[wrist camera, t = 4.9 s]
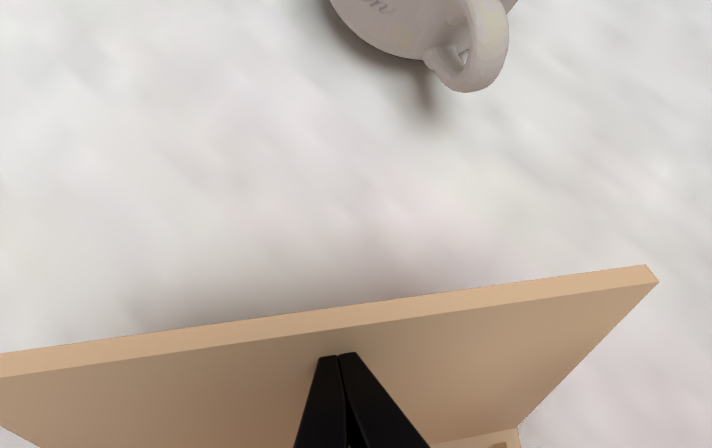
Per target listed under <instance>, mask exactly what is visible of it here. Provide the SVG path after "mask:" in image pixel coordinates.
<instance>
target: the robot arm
mask: <svg viewBox="0 0 712 448" xmlns="http://www.w3.org/2000/svg"><path fill="white" fill-rule="evenodd" d="M293 448H431V447H430V446H429V445H428V443H427V442H426V441H425V440H424V438H423V437H422V436H421V434H420V433H419V432H418V431H417V429H416V428H415V427H414V425H413V424H412V423H411V422H410V420H409V419H408V418H407V417H406V415H405V414H404V413H403V411H402V410H401V409H400V408H399V406H398V405H397V404H396V402H395V401H394V400H393V399H392V397H391V396H390V395H389V394H388V392H387V391H386V390H385V388H384V387H383V386H382V385H381V383H380V382H379V381H378V379H377V378H376V377H375V376H374V374H373V373H372V372H371V371H370V369H369V368H368V367H367V365H366V364H365V363H364V362H363V360H362V359H361V358H360V356H359V355H358V354H357V353H356V352H349V353H343V354H339V355H338V356H337V355H330V356H324V357H320V358H319V359H318V362H317V365H316V369H315V372H314V376H313V379H312V383H311V386H310V390H309V393H308V397H307V400H306V404H305V407H304V411H303V414H302V418H301V421H300V425H299V428H298V432H297V435H296V439H295V442H294V446H293Z"/></svg>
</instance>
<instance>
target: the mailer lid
mask: <svg viewBox="0 0 712 448" xmlns="http://www.w3.org/2000/svg"><path fill="white" fill-rule="evenodd" d="M658 283H659V280H658V279H657V278H656V277H655V275H654V274H653V273H652V272H651V270H650V269H649V268H648V267H647V265H646V264H644V265H637V266H630V267H622V268H615V269H608V270H601V271H594V272H586V273H579V274H572V275H565V276H557V277H550V278H543V279H536V280H529V281H521V282H514V283H507V284H500V285H492V286H485V287H478V288H471V289H463V290H456V291H449V292H442V293H435V294H427V295H420V296H413V297H406V298H398V299H391V300H384V301H377V302H370V303H362V304H355V305H348V306H341V307H333V308H326V309H319V310H312V311H305V312H297V313H290V314H283V315H276V316H268V317H261V318H254V319H247V320H239V321H232V322H225V323H218V324H211V325H203V326H196V327H189V328H182V329H174V330H167V331H160V332H153V333H146V334H138V335H131V336H124V337H117V338H109V339H102V340H95V341H88V342H81V343H73V344H66V345H59V346H52V347H44V348H37V349H30V350H23V351H16V352H8V353H1V354H0V426H2V427H3V428H5V429H7V430H9V431H11V432H13V433H15V434H16V435H18V436H20V437H22V438H24V439H26V440H27V441H29V442H31V443H33V444H35V445H37V446H38V447H40V448H293V446H294V442H295V439H296V435H297V432H298V428H299V425H300V421H301V418H302V414H303V411H304V407H305V404H306V400H307V397H308V393H309V390H310V386H311V383H312V379H313V376H314V372H315V369H316V365H317V362H318V359H319V358H320V357H324V356H330V355H337V356H338V355H339V354H343V353H349V352H356V353H357V354H358V355H359V356H360V358H361V359H362V360H363V362H364V363H365V364H366V365H367V367H368V368H369V369H370V371H371V372H372V373H373V374H374V376H375V377H376V378H377V379H378V381H379V382H380V383H381V385H382V386H383V387H384V388H385V390H386V391H387V392H388V394H389V395H390V396H391V397H392V399H393V400H394V401H395V402H396V404H397V405H398V406H399V408H400V409H401V410H402V411H403V413H404V414H405V415H406V417H407V418H408V419H409V420H410V422H411V423H412V424H413V425H414V427H415V428H416V429H417V431H418V432H419V433H420V434H421V436H422V437H423V438H424V440H425V441H426V442H427V443H428V445H431V444H437V443H442V442H447V441H452V440H457V439H463V438H468V437H473V436H478V435H483V434H489V433H494V432H499V431H504V430H509V429H515V428H516V427H517V426H518V425H519V424H520V423H521V422H522V421H523V420H524V419H525V418H526V417H527V416H528V415H529V414H530V413H531V412H532V411H533V410H534V409H535V408H536V407H537V406H538V405H539V404H540V403H541V402H542V401H543V400H544V398H545V397H546V396H547V395H548V394H549V393H550V392H551V391H552V390H553V389H554V388H555V387H556V386H557V385H558V384H559V383H560V382H561V381H562V380H563V379H564V378H565V377H566V376H567V375H568V374H569V373H570V372H571V371H572V370H573V369H574V368H575V367H576V366H577V365H578V364H579V363H580V362H581V361H582V360H583V359H584V358H585V357H586V356H587V355H588V354H589V353H590V352H591V351H592V350H593V349H594V348H595V347H596V346H597V345H598V344H599V343H600V342H601V341H602V339H603V338H604V337H605V336H606V335H607V334H608V333H609V332H610V331H611V330H612V329H613V328H614V327H615V326H616V325H617V324H618V323H619V322H620V321H621V320H622V319H623V318H624V317H625V316H626V315H627V314H628V313H629V312H630V311H631V310H632V309H633V308H634V307H635V306H636V305H637V304H638V303H639V302H640V301H641V300H642V299H643V298H644V297H645V296H646V295H647V294H648V293H649V292H650V291H651V290H652V289H653V288H654V287H655V286H656V285H657V284H658Z"/></svg>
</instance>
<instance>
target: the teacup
mask: <svg viewBox="0 0 712 448" xmlns="http://www.w3.org/2000/svg"><path fill="white" fill-rule="evenodd" d="M517 1H518V0H330V2H331V4H332V6H333V7H334V9H335V10H336V12H337V13H338V15H339V16H340V18H341V19H342V20H343V21H344V23H345V24H346V25H347V26H348V27H349V28H350V29H351V30H352V31H353V32H354V33H355V34H357V35H358V36H359V37H360V38H362V39H363V40H364V41H366V42H367V43H369V44H370V45H372V46H374V47H376V48H377V49H380V50H382V51H384V52H387V53H390V54H392V55H395V56H399V57H403V58H410V59H418V60H423V61H424V63H425V65H426V66H427V67H428V68H429V69H431V70H434V71H435V73H436V74H437V76H438V77H439V78H440V80H441V81H442V82H443V83H444V84H445V85H446V86H447V87H449V88H450V89H451V90H453V91H457V92H462V93H469V92H474V91H479V90H482V89H484V88H486V87H488V86H489V85H490V84H492V83H493V82H494V80H495V79H496V78H497V76H498V75H499V73H500V71H501V69H502V67H503V64H504V61H505V58H506V54H507V51H508V44H509V25H508V19H507V16H506V15H507V14H508V12H509V11H510V10H511V8H512V7H513V6H514V5H515V3H516V2H517ZM469 48H470V49H469ZM467 49H469V55H468V58H467V61H466V64H464V63H463V61H462V60H461V59H460V57H459V55H458V53H461V52H463V51H465V50H467Z"/></svg>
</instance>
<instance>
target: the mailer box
mask: <svg viewBox="0 0 712 448" xmlns="http://www.w3.org/2000/svg"><path fill="white" fill-rule="evenodd" d="M429 446H430V447H431V448H521V446H520V441H519V436H518V431H517V427H516V428H515V429H509V430H504V431H499V432H494V433H489V434H483V435H478V436H473V437H468V438H463V439H457V440H452V441H447V442H442V443H437V444H431V445H429Z"/></svg>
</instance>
